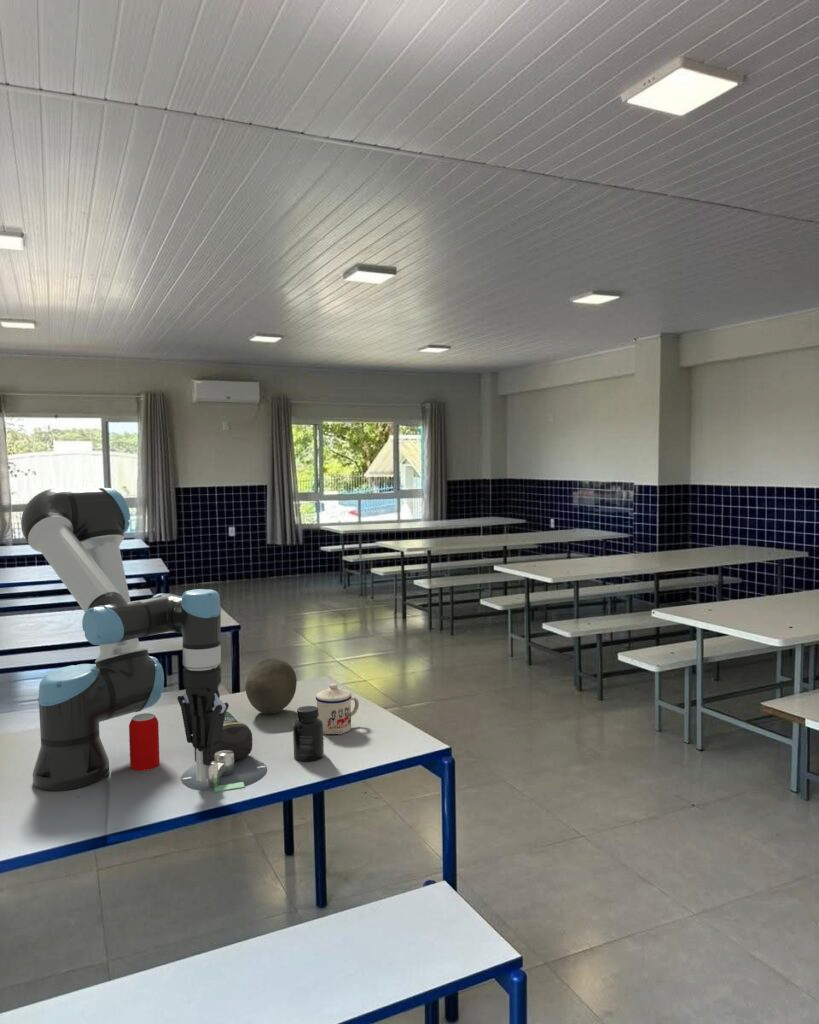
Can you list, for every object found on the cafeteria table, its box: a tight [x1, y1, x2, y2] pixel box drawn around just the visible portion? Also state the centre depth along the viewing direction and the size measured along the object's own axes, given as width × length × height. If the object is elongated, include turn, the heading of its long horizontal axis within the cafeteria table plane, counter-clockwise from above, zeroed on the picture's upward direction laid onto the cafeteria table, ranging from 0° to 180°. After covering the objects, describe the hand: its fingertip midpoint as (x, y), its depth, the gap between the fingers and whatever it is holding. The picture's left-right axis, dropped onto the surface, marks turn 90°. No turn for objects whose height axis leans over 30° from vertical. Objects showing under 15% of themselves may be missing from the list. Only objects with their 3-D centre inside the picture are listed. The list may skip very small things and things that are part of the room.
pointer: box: [208, 750, 234, 787], centre depth 156 cm, size 10×4×5 cm, turn 175°
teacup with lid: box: [315, 683, 360, 735], centre depth 189 cm, size 12×9×12 cm
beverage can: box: [128, 712, 161, 772], centre depth 164 cm, size 6×6×12 cm
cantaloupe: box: [245, 657, 298, 715], centre depth 200 cm, size 14×14×15 cm
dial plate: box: [180, 757, 268, 793], centre depth 159 cm, size 18×18×1 cm
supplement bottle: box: [292, 705, 325, 763], centre depth 168 cm, size 7×7×12 cm
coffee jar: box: [212, 710, 253, 760], centre depth 172 cm, size 10×8×19 cm
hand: (203, 778), depth 152 cm, fingers closed
